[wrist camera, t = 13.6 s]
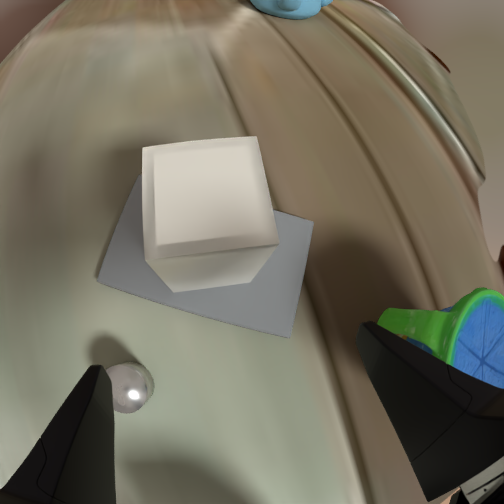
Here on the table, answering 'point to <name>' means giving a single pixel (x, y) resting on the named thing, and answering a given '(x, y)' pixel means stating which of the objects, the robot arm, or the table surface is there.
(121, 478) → the table surface
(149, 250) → the cover
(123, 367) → the silver metallic cylinder
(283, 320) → the mat
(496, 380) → the snack cup
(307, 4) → the teapot
